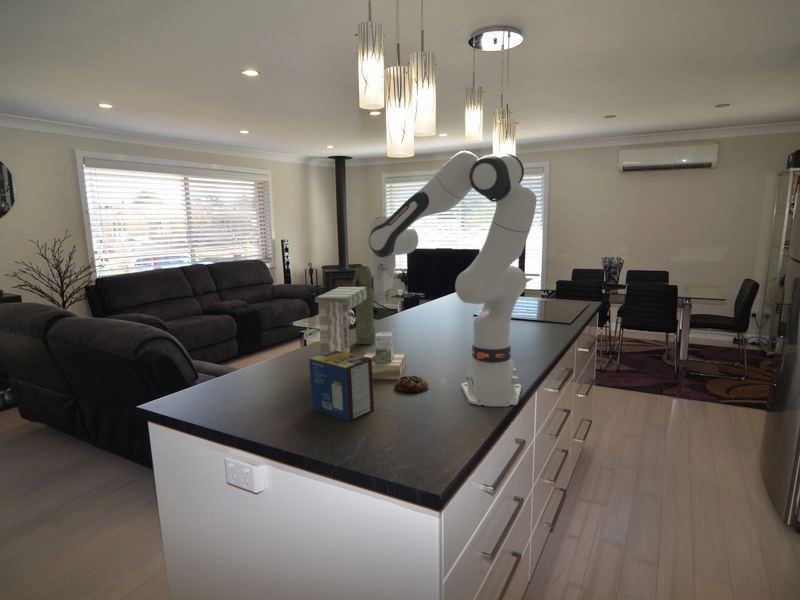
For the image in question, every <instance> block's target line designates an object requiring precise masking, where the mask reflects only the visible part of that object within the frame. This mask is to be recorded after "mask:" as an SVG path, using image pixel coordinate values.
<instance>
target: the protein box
mask: <svg viewBox="0 0 800 600" xmlns="http://www.w3.org/2000/svg"><path fill="white" fill-rule="evenodd" d="M308 361H309V373H310V375H309V376H310V392H311V408H312V410H313V409H314V411H316V410H317V411H316V412H319V411H320V412H319V413H322V414H324V413H325V414H324V415H327V414H328V416H330V415H331V417H333V418H335V417H336V419H338V418H339V420H341V419H342V421H344V420H345V422H348V423H349V422H351V421H353V420H356V419H358V418H361V417H362V416H364V415H366V414H368V413H371V412H372V411H374V410H375V404H374V384H373V383H374V382H373V377H372V358H369V357H364V355H358V354H353V353H351V352H350V353H345V352H340V351H336V350H335V351H332V352H329V353H325V354H322V355H321V354H320V355H319V354H318V355H316V356H311V357H309V360H308Z"/></svg>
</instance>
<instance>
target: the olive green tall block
mask: <svg viewBox="0 0 800 600" xmlns="http://www.w3.org/2000/svg"><path fill="white" fill-rule="evenodd" d="M371 270H372V269H371V267H369V266H365V265H364V266H362V265H361V266H357V267H355V270H354V271H355V272H354V277H353V278H352V279H353V280H352V287H367V299H365V300H364V301H362V302H361V303H359V304H358V305H356V306H355V307H354V308H355V321H356V323H355V324H356V327H355V329H354V330H355V339H356V340H355V341H356V344H357V345H358V344H371V345H373V344H372V343H374V342H375V335H376V327H375V325H374V324H375V322H374V321H375V320H374V305H375V301H374V300H375V292H374V276H373V275H372V271H371ZM374 344H375V343H374Z"/></svg>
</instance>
